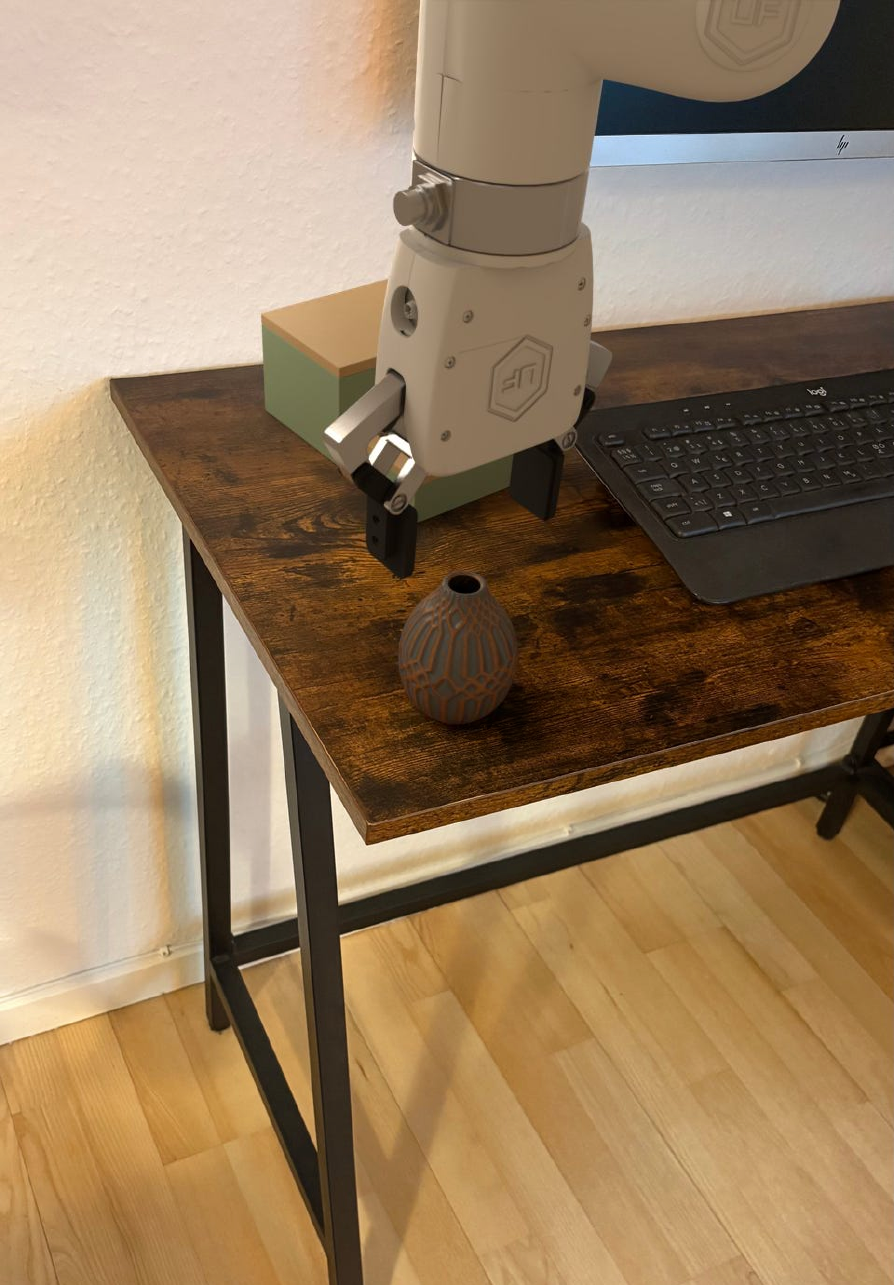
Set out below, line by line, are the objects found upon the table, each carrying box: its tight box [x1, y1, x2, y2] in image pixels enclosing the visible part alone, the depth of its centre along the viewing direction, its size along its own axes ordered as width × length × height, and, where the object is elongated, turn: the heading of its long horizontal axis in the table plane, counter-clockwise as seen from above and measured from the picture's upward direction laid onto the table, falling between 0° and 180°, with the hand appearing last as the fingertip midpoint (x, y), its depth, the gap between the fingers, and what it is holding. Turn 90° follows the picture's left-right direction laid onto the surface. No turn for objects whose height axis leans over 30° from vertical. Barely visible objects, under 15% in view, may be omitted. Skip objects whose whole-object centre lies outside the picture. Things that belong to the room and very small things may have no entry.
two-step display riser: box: [260, 278, 513, 524], centre depth 91 cm, size 19×12×8 cm, turn 39°
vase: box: [397, 570, 519, 725], centre depth 71 cm, size 7×7×9 cm
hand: (462, 535), depth 65 cm, fingers open, 9 cm apart
